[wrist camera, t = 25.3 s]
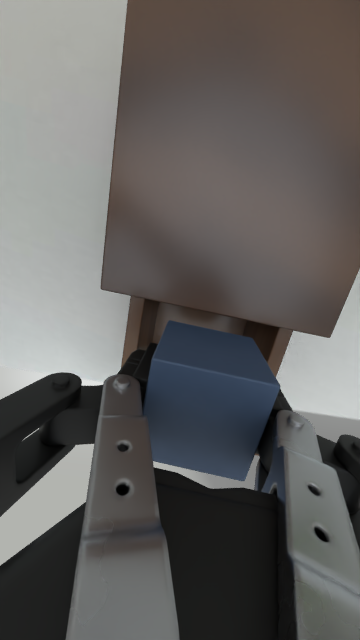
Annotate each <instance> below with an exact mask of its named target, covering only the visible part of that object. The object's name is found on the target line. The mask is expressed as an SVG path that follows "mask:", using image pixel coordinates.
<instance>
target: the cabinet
mask: <svg viewBox="0 0 360 640" xmlns="http://www.w3.org/2000/svg"><path fill="white" fill-rule="evenodd" d="M359 269H360V0H128V3H127V13H126V24H125V34H124V45H123V56H122V66H121V77H120V87H119V98H118V108H117V119H116V129H115V140H114V151H113V161H112V172H111V182H110V193H109V203H108V214H107V225H106V235H105V246H104V256H103V267H102V277H101V289H102V290H106V291H111V292H115V293H120V294H125V295H130V296H134V297H139V298H144V299H148V300H153V301H158V302H162V303H167V304H172V305H176V306H181V307H186V308H191V309H195V310H200V311H205V312H209V313H214V314H219V315H223V316H228V317H233V318H238V319H242V320H247V321H252V322H256V323H261V324H266V325H270V326H275V327H280V328H284V329H289V330H294V331H299V332H303V333H308V334H313V335H317V336H322V337H327V338H330V337H331V334H332V332H333V330H334V327H335V325H336V323H337V320H338V318H339V316H340V313H341V311H342V308H343V306H344V304H345V301H346V299H347V297H348V294H349V292H350V290H351V287H352V285H353V283H354V280H355V278H356V276H357V273H358V271H359Z"/></svg>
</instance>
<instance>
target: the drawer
mask: <svg viewBox="0 0 360 640" xmlns="http://www.w3.org/2000/svg"><path fill="white" fill-rule="evenodd" d="M169 320H171V321H175V322H180V323H185V324H189V325H194V326H199V327H203V328H208V329H213V330H217V331H222V332H227V333H231V334H236V335H241V336H245V337H250V338H253V340H254V341H255V343H256V345H257V346H258V348H259V350H260V352H261V353H262V355H263V357H264V359H265V360H266V362H267V364H268V365H269V367H270V369H271V371H272V372H273V374H274V376H275V377H276V375H277V373H278V370H279V367H280V365H281V362H282V359H283V356H284V354H285V351H286V348H287V346H288V343H289V340H290V337H291V335H292V332H293V330H289V329H284V328H280V327H275V326H270V325H266V324H261V323H256V322H252V321H247V320H242V319H238V318H233V317H228V316H223V315H219V314H214V313H209V312H205V311H200V310H195V309H191V308H186V307H181V306H176V305H172V304H167V303H162V302H158V301H153V300H148V299H144V298H139V297H134V296H131V299H130V306H129V314H128V321H127V328H126V336H125V343H124V350H123V358H122V365H121V368H122V366H123V365H124V363H125V362H126V360H127V359H128V357H129V356H130V354H131V353H132V352H133V351H135V350H137V349H141V350H145V351H146V349H147V347H148V345H149V343H150V342H151V343H156V344H158V343H159V341H160V339H161V337H162V334H163V332H164V330H165V327H166V325H167V323H168V321H169ZM255 455H258V456H259V454H255Z"/></svg>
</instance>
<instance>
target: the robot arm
mask: <svg viewBox="0 0 360 640" xmlns="http://www.w3.org/2000/svg"><path fill="white" fill-rule="evenodd" d="M157 346H158V344H156V343H151V342H150V343H149V345H148V347H147V349H146V351H145V350H141V349H137V350H135V351H133V352H132V353H131V354H130V356H129V357H128V359H127V360H126V362H125V363H124V365H123V366H122V368H121V370H120V371H119V373H118V374H117V375H113V376H110V377H108V378H107V379H106V380H105V381H104V384H103V385H99V386H81V383H82V381H81V379H80V377H78V376H77V375H75V374H72V373H55V374H51V375H48V376H46V377H44V378H42V379H40V380H38V381H36V382H34V383H33V384H30V385H29V386H26V387H24V388H23V389H21V390H19V391H17V392H15V393H13V394H11V395H9V396H7V397H5V398H3V399H1V400H0V517H1V516H2V515H3V514H4V513H5V512H6V511H7V510H8V509H9V508H10V507H11V506H12V505H13V504H14V503H15V502H16V501H18V500H19V499H20V498H21V497H22V496H23V495H24V494H25V493H26V492H27V491H28V490H29V489H30V488H31V487H33V486H34V485H35V484H36V483H37V482H38V481H39V480H40V479H41V478H42V477H43V476H44V475H45V474H46V473H47V472H49V471H50V470H51V469H52V468H53V467H54V466H55V465H56V464H57V463H58V462H59V461H60V460H61V459H62V458H63V457H65V455H67V454H68V453H69V452H70V451H71V450H72V449H73V448H74V447H75V445H79V444H94V451H93V458H92V465H91V472H90V479H89V486H88V492H87V500H86V502H85V503H84V504H83V505H81V506H80V507H79V508H77V509H76V510H75V511H73V512H72V513H71V514H69V515H68V516H67V517H65V518H64V519H62V520H61V521H60V522H58V523H57V524H56V525H54V526H53V527H52V528H50V529H49V530H48V531H46V532H45V533H44V534H42V535H41V536H40V537H38V538H37V539H36V540H34V541H33V542H32V543H30V544H29V545H27V546H26V547H25V548H24V549H22V550H21V551H19V552H18V553H17V554H16V555H14V556H13V557H11V558H10V559H9V560H7V561H6V562H5V563H3V564H2V565H1V566H0V640H360V439H359V438H356V437H354V436H351V435H341V436H340V437H339V439H338V441H337V443H335V442H332V441H330V440H327V439H325V438H323V437H321V436H319V435H316V432H315V429H314V427H313V426H312V424H311V423H310V422H309V421H308V420H307V419H306V418H304V417H303V416H301V415H299V414H298V413H295V412H293V411H292V409H291V407H290V405H289V404H288V402H287V400H286V398H285V397H284V395H283V393H282V392H281V390H280V389H279V392H278V395H277V397H276V400H275V403H274V405H273V408H272V410H271V413H270V416H269V418H268V421H267V424H266V426H265V429H264V431H263V434H262V437H261V439H260V442H259V445H258V447H257V450H256V452H255V454H259V456H260V459H259V461H258V464H257V467H256V478H255V489H254V490H251V489H246V488H224V489H210V488H207V487H205V486H203V485H201V484H199V483H197V482H194V481H193V480H191V479H189V478H187V477H185V476H183V475H181V474H178V473H175V472H171V471H167V470H163V469H158V468H154V467H153V459H152V451H151V443H150V434H149V426H148V419H147V416H146V415H143V412H142V411H143V405H144V399H145V394H146V388H147V383H148V377H149V371H150V366H151V360H152V357H153V355H154V353H155V350H156V348H157ZM38 428H39V430H37V429H38ZM35 430H37V431H36V432H34V431H35ZM32 432H34V433H33V434H32V435H30V436H29V437H27V436H28V435H29V434H31V433H32ZM25 437H27V438H26V439H25V440H23V439H24V438H25ZM22 440H23V441H22Z"/></svg>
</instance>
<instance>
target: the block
mask: <svg viewBox="0 0 360 640" xmlns="http://www.w3.org/2000/svg"><path fill="white" fill-rule="evenodd" d="M279 389H280V384H279V383H278V381H277V379H276V377H275V376H274V374H273V372H272V371H271V369H270V367H269V365H268V364H267V362H266V360H265V359H264V357H263V355H262V353H261V352H260V350H259V348H258V346H257V345H256V343H255V341H254V340H253V338H250V337H245V336H241V335H236V334H231V333H227V332H222V331H217V330H213V329H208V328H203V327H199V326H194V325H189V324H185V323H180V322H175V321H171V320H169V321H168V323H167V325H166V327H165V330H164V332H163V334H162V337H161V339H160V341H159V343H158V346H157V348H156V350H155V353H154V355H153V357H152V360H151V366H150V371H149V377H148V383H147V388H146V394H145V399H144V405H143V411H142V412H143V415H146V416H147V419H148V426H149V434H150V443H151V451H152V459H153V461H155V462H159V463H164V464H168V465H173V466H177V467H182V468H186V469H191V470H195V471H199V472H204V473H208V474H213V475H217V476H221V477H226V478H231V479H235V480H239V481H245V479H246V476H247V473H248V471H249V468H250V465H251V463H252V460H253V458H254V455H255V452H256V450H257V447H258V445H259V442H260V439H261V437H262V434H263V431H264V429H265V426H266V424H267V421H268V418H269V416H270V413H271V410H272V408H273V405H274V403H275V400H276V397H277V395H278V392H279Z"/></svg>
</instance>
